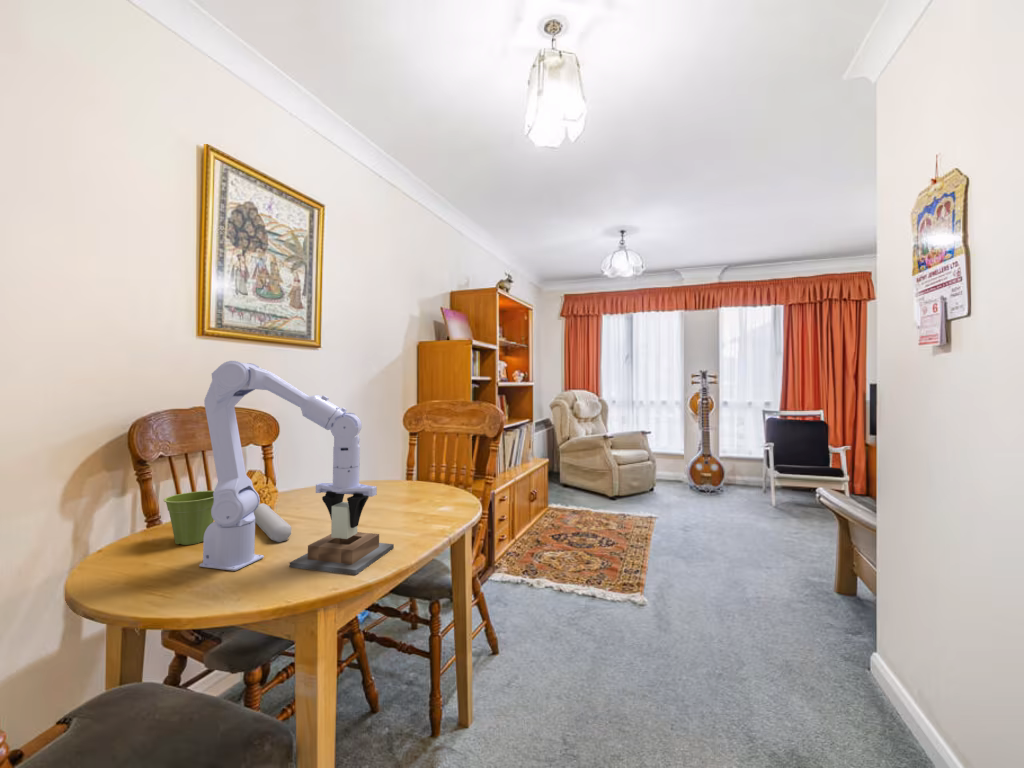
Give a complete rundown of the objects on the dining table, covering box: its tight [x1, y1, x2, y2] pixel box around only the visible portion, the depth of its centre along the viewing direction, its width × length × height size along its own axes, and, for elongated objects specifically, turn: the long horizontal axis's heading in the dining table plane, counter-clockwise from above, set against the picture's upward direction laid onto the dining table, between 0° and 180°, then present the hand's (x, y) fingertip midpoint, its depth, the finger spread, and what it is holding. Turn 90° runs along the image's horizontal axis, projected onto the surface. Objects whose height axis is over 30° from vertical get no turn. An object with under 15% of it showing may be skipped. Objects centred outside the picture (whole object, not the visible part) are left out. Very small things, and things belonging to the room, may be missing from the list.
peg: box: [330, 501, 358, 539], centre depth 100 cm, size 4×4×7 cm
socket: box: [289, 531, 395, 576], centre depth 100 cm, size 16×16×4 cm
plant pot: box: [163, 490, 215, 546], centre depth 110 cm, size 12×12×11 cm
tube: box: [254, 502, 292, 543], centre depth 119 cm, size 5×5×25 cm
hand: (345, 525), depth 101 cm, fingers closed on peg, 4 cm apart
